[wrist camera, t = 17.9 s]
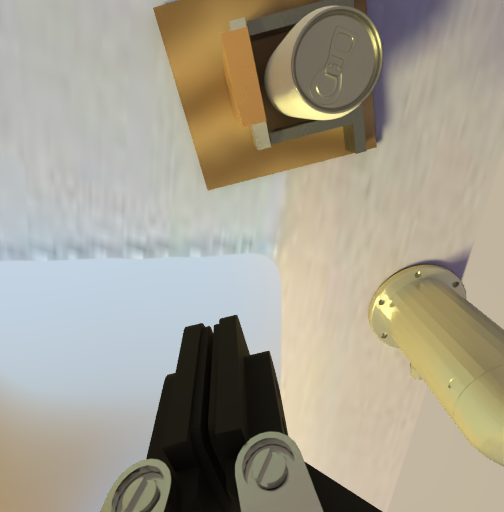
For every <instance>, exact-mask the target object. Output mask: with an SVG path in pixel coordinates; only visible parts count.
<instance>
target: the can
mask: <svg viewBox="0 0 504 512" xmlns="http://www.w3.org/2000/svg"><path fill="white" fill-rule="evenodd" d="M382 63H383V46H382V41H381V37H380V34H379V32H378V30H377V28H376V26H375V24H374V23H373V22H372V20H371V19H370V18H369V17H368V16H367V15H366V14H364V13H363V12H361V11H359V10H357V9H355V8H352V7H347V6H326V7H322V8H319V9H316V10H314V11H312V12H311V13H309V14H307V15H306V16H305V17H303V18H302V19H301V20H300V21H299V22H298V23H297V24H296V25H295V26H294V27H293V28H292V30H291V31H290V32H289V33H288V35H287V36H286V37H285V38H284V39H283V41H282V42H281V43H280V44H279V46H278V47H277V48H276V50H275V51H274V52H273V54H272V55H271V57H270V59H269V61H268V63H267V66H266V70H265V76H264V84H265V90H266V94H267V96H268V99H269V100H270V102H271V104H272V105H273V106H274V107H275V108H276V109H277V110H278V111H279V112H280V113H282V114H284V115H287V116H291V117H296V118H304V119H313V120H331V119H336V118H339V117H342V116H344V115H346V114H348V113H350V112H351V111H353V110H354V109H355V108H356V107H358V106H359V105H360V104H361V103H362V102H363V101H364V100H365V99H366V98H367V97H368V95H369V94H370V93H371V91H372V90H373V88H374V87H375V85H376V83H377V81H378V78H379V76H380V72H381V69H382Z"/></svg>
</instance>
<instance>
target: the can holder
mask: <svg viewBox="0 0 504 512" xmlns="http://www.w3.org/2000/svg"><path fill="white" fill-rule="evenodd" d="M326 6H347V7H352V8H354V0H322V1H319V2H315V3H311V4H308V5H304V6H300V7H297V8H293V9H289V10H286V11H282V12H278V13H275V14H271V15H267V16H264V17H260V18H256V19H253V20H249V21H247V23H246V26H247V27H248V32H249V37H250V42H252V41H256V40H260V39H263V38H267V37H271V36H274V35H278V34H282V33H286V32H289V31H291V30H292V28H293V27H294V26H295V25H296V24H297V23H298V22H299V21H300V20H301V19H302V18H303V17H305V16H306V15H307V14H309V13H311V12H312V11H314V10H316V9H319V8H322V7H326ZM342 126H343V132H344V141H345V150H347V151H350V152H353V153H356V154H357V153H360V152H364V151H366V139H365V127H364V116H363V104H362V103H361V104H360V105H359V106H358V107H356V108H355V109H354V110H353V111H351V112H350V113H348V114H346V115H344V116H342V117H339V118H336V119H331V120H313V119H312V120H308V121H304V122H300V123H296V124H292V125H289V126H285V127H281V128H277V129H273V130H269V131H268V134H269V139H270V144H272V145H273V144H276V143H280V142H284V141H288V140H292V139H296V138H300V137H303V136H307V135H311V134H315V133H319V132H323V131H326V130H330V129H334V128H338V127H342Z"/></svg>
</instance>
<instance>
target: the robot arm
mask: <svg viewBox="0 0 504 512" xmlns="http://www.w3.org/2000/svg"><path fill="white" fill-rule="evenodd" d="M369 321H370V325H371V327H372V329H373V331H374V332H375V334H376V335H377V337H378V338H379V339H380V340H381V341H383V342H384V343H386V344H388V345H389V346H392V347H396V348H400V349H401V350H402V351H403V353H404V354H405V355H406V357H407V358H408V360H409V361H410V362H411V363H410V375H411V376H412V377H413V378H414V379H418V380H422V379H423V380H424V382H425V383H426V384H427V386H428V387H429V388H430V390H431V391H432V393H433V394H434V395H435V397H436V398H437V399H438V400H439V402H440V403H441V405H442V406H443V407H444V409H445V410H446V412H447V413H448V414H449V416H450V417H451V419H452V420H453V421H454V423H455V424H456V425H457V427H458V428H459V429H460V431H461V432H462V433H463V435H464V436H465V437H466V439H467V440H468V441H469V442H470V443H471V445H472V446H474V447H475V448H476V449H477V450H478V451H479V452H480V453H482V454H483V455H484V456H486V457H487V458H489V459H490V460H492V461H494V462H496V463H498V464H500V465H502V466H504V330H503V329H502V328H501V327H500V326H498V325H497V324H496V323H494V322H493V321H492V320H491V319H490V318H488V317H487V316H486V315H484V314H483V313H482V312H481V311H479V310H478V309H477V308H476V307H474V306H473V305H472V304H471V303H469V302H468V301H467V300H466V291H465V288H464V285H463V283H462V282H461V280H460V279H459V278H458V277H457V276H456V275H455V274H453V273H452V272H450V271H449V270H447V269H446V268H443V267H440V266H436V265H418V266H413V267H410V268H407V269H404V270H402V271H400V272H398V273H397V274H395V275H393V276H392V277H391V278H389V279H388V280H387V281H386V282H385V283H384V284H383V285H382V286H381V287H380V288H379V289H378V291H377V292H376V294H375V295H374V297H373V299H372V302H371V304H370V309H369ZM100 512H382V511H380V510H379V509H377V508H376V507H374V506H373V505H371V504H370V503H368V502H366V501H365V500H363V499H362V498H360V497H359V496H357V495H356V494H354V493H352V492H351V491H349V490H348V489H346V488H345V487H343V486H342V485H340V484H338V483H337V482H335V481H334V480H332V479H331V478H329V477H328V476H326V475H324V474H323V473H321V472H320V471H318V470H317V469H315V468H314V467H312V466H310V465H309V464H307V463H306V462H304V460H303V457H302V454H301V452H300V450H299V448H298V446H297V445H296V443H295V442H294V441H293V440H292V439H291V438H290V437H289V436H288V432H287V427H286V421H285V416H284V411H283V405H282V400H281V395H280V390H279V385H278V381H277V377H276V373H275V369H274V366H273V362H272V358H271V355H270V352H269V351H266V352H262V353H257V354H253V355H250V354H249V350H248V347H247V344H246V341H245V338H244V335H243V331H242V328H241V325H240V322H239V319H238V316H237V315H233V316H230V317H225V318H221V319H220V320H219V324H216V325H214V333H213V332H212V329H211V327H210V326H208V327H205V326H204V324H202V323H200V324H197V325H192V326H188V327H185V329H184V333H183V338H182V343H181V348H180V353H179V358H178V364H177V369H176V373H173V374H169V375H167V376H166V378H165V381H164V385H163V389H162V394H161V398H160V402H159V407H158V411H157V415H156V420H155V424H154V429H153V433H152V437H151V441H150V446H149V450H148V454H147V459H146V460H143V461H140V462H138V463H136V464H134V465H132V466H131V467H130V468H128V469H127V470H126V471H125V472H123V473H122V474H121V476H120V477H119V478H118V479H117V480H116V482H115V483H114V484H113V486H112V488H111V490H110V491H109V493H108V495H107V498H106V500H105V502H104V505H103V507H102V509H101V511H100Z"/></svg>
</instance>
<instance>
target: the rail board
mask: <svg viewBox="0 0 504 512" xmlns="http://www.w3.org/2000/svg"><path fill="white" fill-rule="evenodd" d="M319 1H322V0H180V1H176V2H173V3H169V4H165V5H162V6H158V7H155V8H153V9H154V12H155V16H156V19H157V22H158V26H159V29H160V32H161V36H162V39H163V42H164V46H165V49H166V52H167V56H168V59H169V62H170V66H171V69H172V72H173V76H174V79H175V82H176V86H177V89H178V92H179V96H180V99H181V102H182V106H183V109H184V112H185V116H186V119H187V122H188V126H189V129H190V132H191V136H192V139H193V142H194V146H195V149H196V152H197V156H198V159H199V162H200V166H201V169H202V172H203V176H204V179H205V182H206V186H207V189H208V190H211V189H215V188H219V187H223V186H227V185H231V184H235V183H239V182H243V181H246V180H250V179H254V178H258V177H262V176H266V175H270V174H274V173H278V172H282V171H285V170H289V169H293V168H297V167H301V166H305V165H309V164H313V163H317V162H321V161H324V160H328V159H332V158H336V157H340V156H344V155H348V154H352V153H353V152H350V151H347V150H345V141H344V132H343V126H342V127H338V128H334V129H330V130H326V131H323V132H319V133H315V134H311V135H307V136H303V137H300V138H296V139H292V140H288V141H284V142H280V143H276V144H273V145H272V144H271V147H269V148H266V149H262V150H257V149H256V147H255V146H254V143H253V138H252V134H251V129H250V126H247V127H242V126H241V125H240V124H239V122H238V121H237V120H236V119H235V116H234V111H233V107H232V103H231V99H230V95H229V91H228V87H227V82H226V78H225V74H224V64H223V50H222V37H221V34H222V33H226V32H229V21H232V20H236V19H239V18H243V17H245V21H246V23H247V21H249V20H253V19H256V18H260V17H264V16H267V15H271V14H275V13H278V12H282V11H286V10H289V9H293V8H297V7H300V6H304V5H308V4H311V3H315V2H319ZM354 8H355V9H357V10H359V11H361V12H363V13H364V14H366V15H367V9H366V0H354ZM289 32H290V31H289ZM289 32H286V33H282V34H278V35H274V36H271V37H267V38H263V39H260V40H256V41H252V42H251V47H252V52H253V57H254V62H255V67H256V72H257V76H258V81H259V86H260V91H261V96H262V101H263V106H264V111H265V116H266V124H267V129H268V131H269V130H273V129H277V128H281V127H285V126H289V125H292V124H296V123H300V122H304V121H308V120H312V119H304V118H296V117H291V116H287V115H284V114H282V113H280V112H279V111H278V110H277V109H276V108H275V107H274V106H273V105H272V104H271V102H270V100H269V99H268V96H267V94H266V90H265V84H264V76H265V70H266V66H267V63H268V61H269V59H270V57H271V55H272V54H273V52H274V51H275V50H276V48H277V47H278V46H279V44H280V43H281V42H282V41H283V39H284V38H285V37H286V36H287V35H288V33H289ZM362 104H363V116H364V127H365V139H366V150H367V149H371V148H375V147H376V134H375V120H374V106H373V92H372V91H371V93H370V94H369V95H368V97H367V98H366V99H365V100H364V101H363V102H362Z"/></svg>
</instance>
